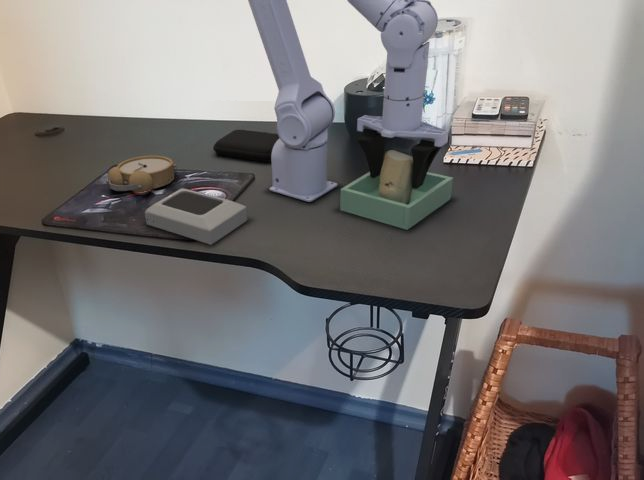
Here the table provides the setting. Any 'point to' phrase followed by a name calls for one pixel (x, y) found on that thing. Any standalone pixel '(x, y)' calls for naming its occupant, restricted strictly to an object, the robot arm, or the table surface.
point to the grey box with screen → (196, 215)
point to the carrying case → (247, 145)
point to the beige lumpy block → (396, 177)
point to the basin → (369, 204)
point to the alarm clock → (141, 174)
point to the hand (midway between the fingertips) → (396, 181)
